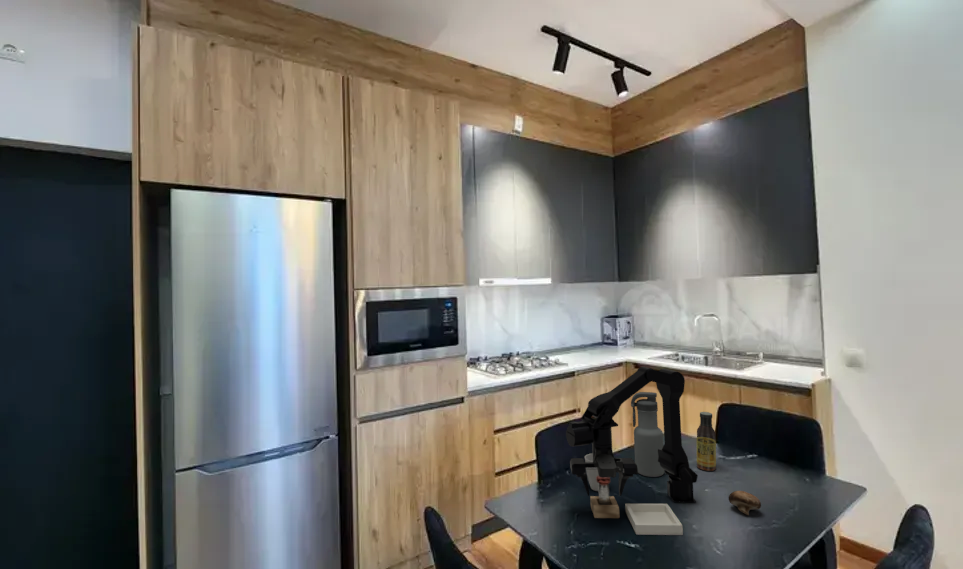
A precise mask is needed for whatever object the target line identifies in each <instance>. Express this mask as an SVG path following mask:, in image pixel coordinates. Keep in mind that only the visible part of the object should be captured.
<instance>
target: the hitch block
mask: <svg viewBox="0 0 963 569" xmlns="http://www.w3.org/2000/svg"><path fill="white" fill-rule="evenodd" d="M589 498H590V499H589V500H590V508H591V511H592V513H593V514H592V515H593V517H594V519H620V506H619V504H618V502H617V500H616V498H615V496H614V495H609V500H610V505H599V495H595V496H594V495H589Z"/></svg>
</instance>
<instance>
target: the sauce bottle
mask: <svg viewBox="0 0 963 569" xmlns="http://www.w3.org/2000/svg"><path fill="white" fill-rule="evenodd" d="M699 417H700V423H699V426H698V428H697V429H696V467H697V468H698V469H700V470H702V471H707V472H713V471H715V470H716V468H717V467H716V466H717V439H716V436H717V435H716V430H714V427H713V424H712V423H713V413H711V412H709V411H700V412H699Z"/></svg>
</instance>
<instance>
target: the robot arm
mask: <svg viewBox="0 0 963 569" xmlns="http://www.w3.org/2000/svg"><path fill="white" fill-rule="evenodd" d="M651 382H653V383H655V385H656V390H657V391H658V393H659V394H660V397H661V398H662V400H661V401H662V418H663V419H662V420H663V441H664V443H663V448H662V449H658V456H659V457H658V462H659V463H660V466H661V467H662V468H663V469H664V471H665V472H664V474H666V475H667V476H668V480H667V481H666V486H667V495H668V497H669V498H670V499H671V501H673V502H674V503H697V502H696V499H695V498H694V483H697V481H698V474H697V473H696V472H695V471H694V470H693V469H692V468H690V463H689V459H688V455H687V453H686V451H685V449H684V447H683V442H682V440H683V439H682V429H681V428H682V426H681V425H682V423H681V422H682V421H681V404H680V403H681V402H680V401H681V400H680V399H681V397H682V396H683V394H684V391H685V386H686V385H685V382H686V380H685V376H684V375H683V374H682V373H681V372H680V371H676V370H673V369H667V368H661V369H659V370H657V369H653V368H650V367H646V366H640V367H638V369H637V370H636V371H635V372H634V373H632V374H631V375H630V376H628V377H627V378H625V379H624V380H623V381H622V382H621V383H620V384H618V385H617V386H615V387H613V389H611V390H609V391H608V392H605V393H601V394H599V395H596V396H594V397H592V398H591V399H589V401H587V407H586V409H585V411H584V412H583V414H582V416H581V417H580V421H569V422H568V426H567V428H566V431H565V438H566V440H567V444H568V445H569V446H570V447H580V446H587V445H592V447H591V448H592V449H591V450H592V453H593V462H585V458H583V457H582V458H577V457H575V458H574V457H573V458H570V460H569V464H570V465H569V468H570V471H571V474H572V475H576V477H578V478H580V479H581V480H582V483H583V485H584V489H585V492H586V493H587V494H586V495H587V496H588V497H590V488H589V481H588V477H587V472H586V469H597V470H598V474H599V476H600V477H602V478H604V477H610V478H616V477H617V473H618V495H619V497H622V495H623V492H624V488H625V486H626V483H627V481H628V479H630V478H633V477H634V475H638V474H639V473H638V468H637V465H636V463H635V459H633V458H632V457H615V455H614V453H613V452H614V451H613V438H612V435H613V434H612V428H615V427H618V426H619V424H618V423H617V422H616V421H615V420H614V419H613V418H614V416H615V415H617V413H618V412H619V410H620V407H621V406H622V405H623V404H624V403H625V402H626V401H627V400H629V399H630V398H631V397H633V396H634V395H635V394H636V393H639V392H640V390H642V389H643V388H644V387H646V386H647V385H648V384H650V383H651Z"/></svg>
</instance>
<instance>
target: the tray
mask: <svg viewBox="0 0 963 569" xmlns="http://www.w3.org/2000/svg"><path fill="white" fill-rule="evenodd" d="M624 504H625V506H624V510H625V514H626V516H627V519H628V520H629V522H630V525H631V526H632V528H633V531H634V533H635V534H636V535H637V536H638V535H639V536H641V535H643V536H645V535H647V536H648V535H653V536H655V535H656V536H665V535H666V536H683V535H684V534H683V533H684V530H683V527H684V526H683V524H682V523H681V522H680V521H681V520H679V518H678V517H677V515H676V514H675V512H674V511H673V510H672V508H671V507H670V505H669V504H668V503H624Z"/></svg>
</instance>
